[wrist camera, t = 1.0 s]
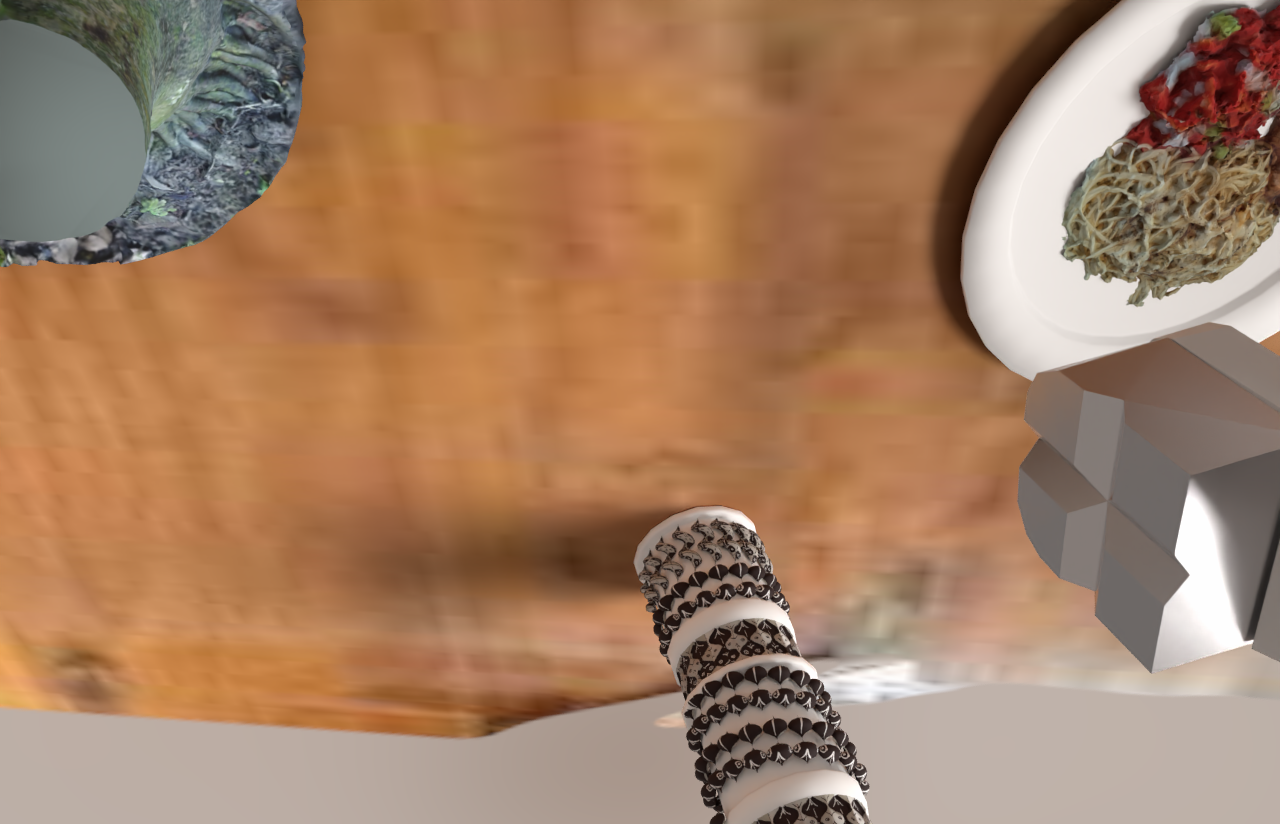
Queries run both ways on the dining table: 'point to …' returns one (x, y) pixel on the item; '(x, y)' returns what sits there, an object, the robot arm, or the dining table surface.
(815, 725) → the decorative candle
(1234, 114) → the plated food
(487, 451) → the dining table surface
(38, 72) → the tree stump
